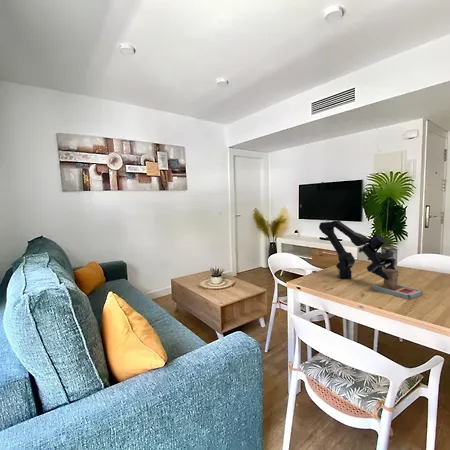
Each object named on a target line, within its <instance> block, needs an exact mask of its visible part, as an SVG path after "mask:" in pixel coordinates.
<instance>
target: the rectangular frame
mask: <svg viewBox="0 0 450 450" xmlns="http://www.w3.org/2000/svg"><path fill="white" fill-rule="evenodd" d="M396 291H397V292H400V293H404V294H408V295H409V294H412V293H414V292H416V290H412V289H409V288H405V287H404V288H401V289H397V290H396Z"/></svg>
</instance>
